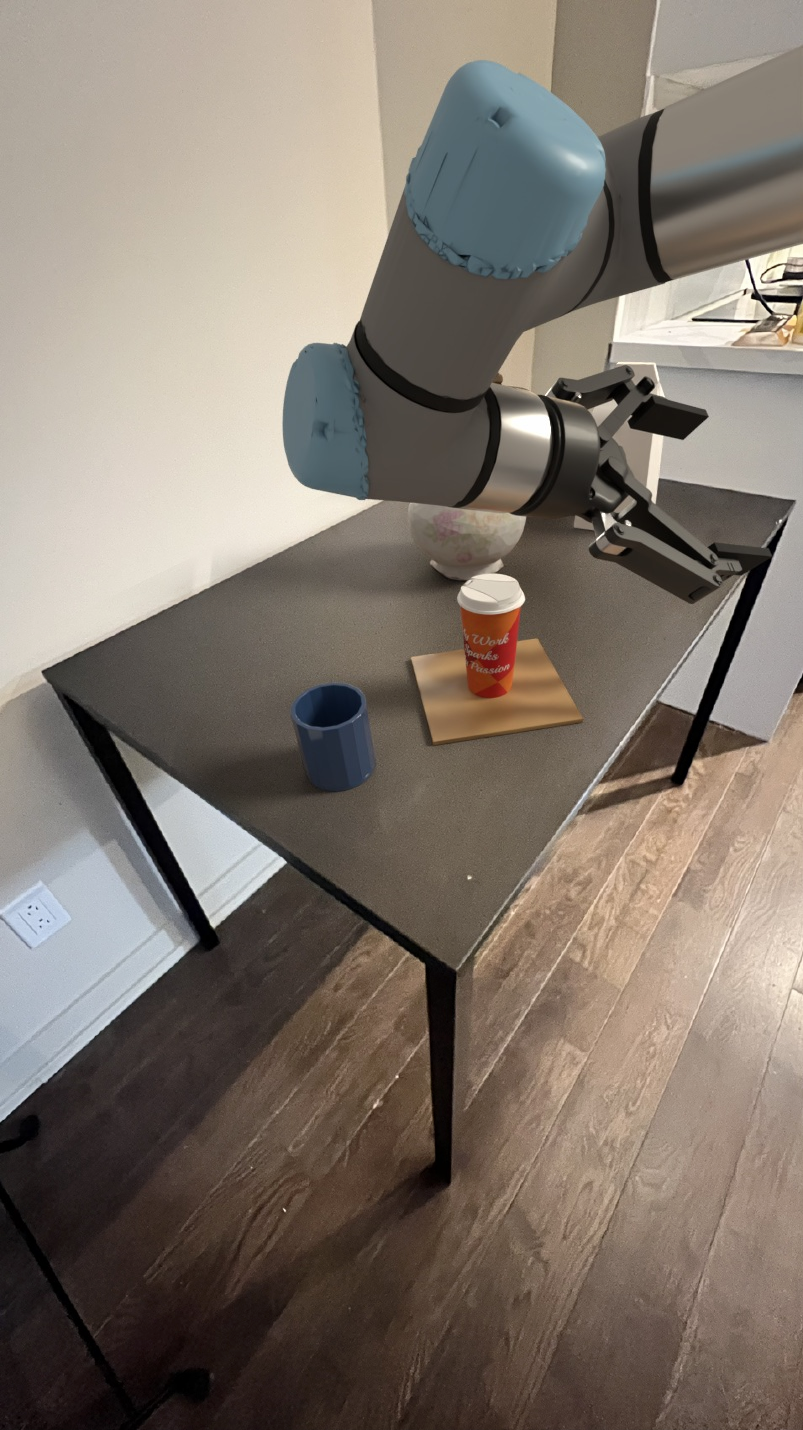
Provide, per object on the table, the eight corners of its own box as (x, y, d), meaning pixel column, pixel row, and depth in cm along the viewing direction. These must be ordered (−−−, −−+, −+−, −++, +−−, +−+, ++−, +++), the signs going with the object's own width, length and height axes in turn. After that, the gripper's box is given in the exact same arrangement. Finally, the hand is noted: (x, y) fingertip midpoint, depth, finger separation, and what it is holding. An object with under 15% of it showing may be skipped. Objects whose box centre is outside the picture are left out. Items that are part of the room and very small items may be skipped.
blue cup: (378, 785, 69) (369, 723, 63) (306, 796, 68) (290, 735, 63) (371, 738, 75) (362, 677, 69) (305, 748, 75) (290, 688, 69)
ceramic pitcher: (510, 537, 117) (509, 390, 103) (561, 574, 101) (567, 406, 87) (401, 562, 113) (383, 412, 99) (435, 603, 98) (420, 433, 83)
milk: (573, 527, 116) (588, 370, 99) (591, 504, 123) (607, 355, 107) (640, 535, 111) (667, 372, 94) (654, 511, 118) (681, 355, 101)
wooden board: (582, 722, 74) (583, 718, 73) (433, 745, 73) (433, 741, 73) (536, 641, 88) (537, 638, 87) (410, 660, 87) (410, 656, 86)
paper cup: (448, 692, 79) (444, 594, 71) (477, 661, 84) (476, 566, 75) (504, 710, 76) (507, 610, 67) (531, 677, 80) (537, 579, 72)
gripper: (447, 358, 48) (640, 406, 58) (537, 650, 41) (740, 648, 51) (500, 265, 42) (706, 337, 52) (618, 590, 35) (832, 601, 44)
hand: (723, 491), depth 51 cm, fingers open, 13 cm apart
